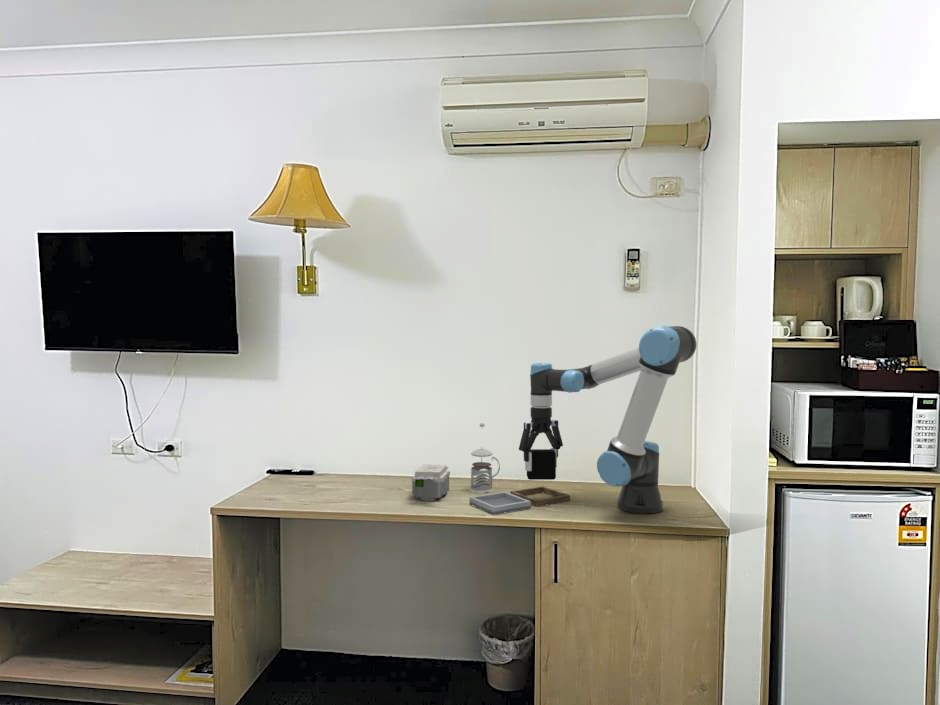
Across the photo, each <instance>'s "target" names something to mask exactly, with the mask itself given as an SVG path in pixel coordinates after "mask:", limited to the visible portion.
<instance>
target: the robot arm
mask: <svg viewBox="0 0 940 705" xmlns="http://www.w3.org/2000/svg"><path fill="white" fill-rule="evenodd" d="M696 350H697V340H696V337H695V335H694V333H693V332H692V331H691V330H690V329H688V327H684V326H681V325H680V326H679V325H674V326H667V325H660V326H656V327H652V328H649V329H648V330H647V331H646V332H645V333H643V335H642V336H641V337H640V339H639V343H638V347H636V348H634V349H632V350H628V351H626V352H623V353H620V354H618V355H615V356H612V357H609V358H607V359H604V360H601V361H598V362H595V363H592V364H590V365H587V366H585V367H581V368H580V367H579V368H571V369H569V368H568V369H555V368H553V364H552V363H549V362H534V363H532V364H531V365H530V374H529V377H530V378H529V379H530V406H531V407H530V418H531V420H530V422H523V431H522V434H521V435H522V436H521V437H520V441H519V442H520V443H519V446H518V450H519V451H521V452H523V462H525V463H524V464H525V465H524V466H525V467H524V470H525V471H526V472H527V471H532V453H531V452H530V450H531V449H533V448H532V447H533V445H534V443H535V441H536V439H537V437H538V436H539V435H540V434H544V435H545V436H546V437H547V439H548V442H549V444H550V446H551V447H552V448H549V449H553V450H554V451H555V453H556V468H557V467H558V466H557V465H558V464H557V463H558V459H557V458H558V457H559V450H560V449H561V447H563V446H564V444H563V440H562V439H563V438H562V436H561V433H560V428H559V420H556V419H551V418H552V417H553V413H552V412H553V408H552V406H553V392H563V393H564V392H565V393H568V394H569V393H579V392H580V391H582V390H590V389H594V388H596V387H598V386H600V385H602V384H605V383H608V382H611V381H614V380H617V379H620V378H623V377H626V376H628V375H629V376H630V375H632V374H635V373H639V375H638V377H637V381H636V382H635V386H634V388H633V392H632V394H631V397H630V400H629V403H628V405H627V408H626V410H625V413H624V416H623V420H622V421H621V422H622V423H621V425H620V428H619V430H618V433H617V435H616V436H614V437H611V439H610V442H609V444H608V447H607V450H606V451H604V452H602V453H601V454H600V455H599V457H598V458H597V461H596V469H597V470H596V471H597V473H598V474H599V477H600V478H601V480H602V481H603V482H604V483H605V484H607V485H608V486H610V487H611V486H612V487H621V489H620V494H619V497H618V498H617V502H616V503H617V504H616V505H617V508H618V509H619V510H621V511H624V512H627V513H632V514H633V513H634V514H641V513H642V514H643V513H644V514H645V515H646V514H648V513H651V514H657V513H661V512H662V511H663V510H664V502H663V500H662V497H661V492H660V488H659V472H660V471H659V467H660V466H659V465H660V446H659V444H658V443H656V442H653V441H647V440H646V438H647V435H648V433H649V431H650V428H651V425H652V423H653V420H654V417H655V414H656V412H657V409H658V406H659V404H660V402H661V398H662V396H663V393H664V390H665V387H666V385H667V382H668V379H669V378H671V377H674V376H675V375H676V373H677V370H678V367H679V365H680V364H681V363H683V362H687V361H688V360H689V359H691V358H692V357H693V355H694V354H695V352H696ZM648 515H649V514H648Z"/></svg>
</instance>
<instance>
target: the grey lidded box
mask: <svg viewBox="0 0 940 705" xmlns="http://www.w3.org/2000/svg"><path fill="white" fill-rule="evenodd" d="M447 466H448V465H447V464H429V463H428V464H425V463H424V464H422V465H421V466H419V467H418V468H417V469H416V470H415V471H414V475H413V476H411V481H412V482H411V492H412V494H413V497H414V498H415V499H419V500H421V501H428V502H429V501H436V500H437V499H441V498H442V497H443V496H445V495H446V494H447V493H448V490H447V489H449V490H450V475H451V471H450V470H448V469H449V467H447Z"/></svg>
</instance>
